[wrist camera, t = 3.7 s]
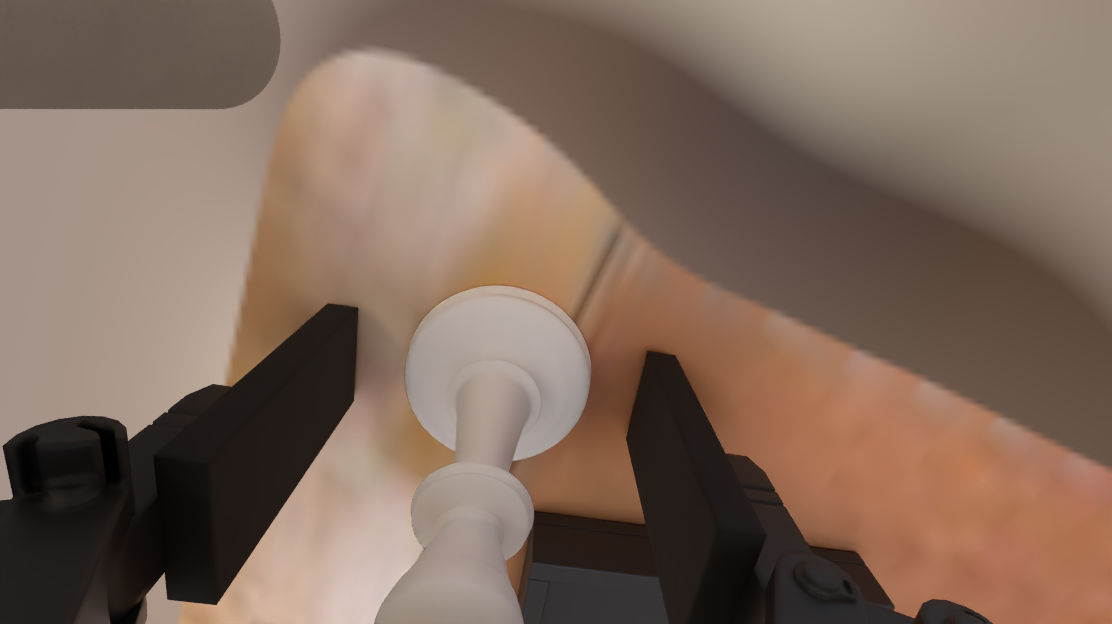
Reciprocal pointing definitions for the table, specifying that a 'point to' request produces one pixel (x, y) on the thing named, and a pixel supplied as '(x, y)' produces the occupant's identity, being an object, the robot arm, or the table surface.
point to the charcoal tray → (616, 573)
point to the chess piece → (483, 445)
